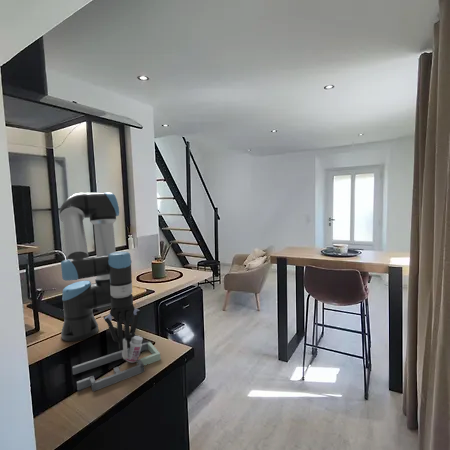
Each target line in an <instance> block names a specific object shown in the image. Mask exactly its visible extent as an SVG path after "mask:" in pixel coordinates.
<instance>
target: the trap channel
mask: <svg viewBox="0 0 450 450" xmlns="http://www.w3.org/2000/svg"><path fill="white" fill-rule="evenodd" d="M127 350H128V349H127ZM147 350H148V351H149V352H150V353H151V354H150V355H147V356H144V357H142V358H138V360H136V362H135V363H136V365H135V366H132V367H129V368H127V369H125V370H122V371H121V370H120V368H119V366H116V367H113V374H111V375H108V376H104V377H103V378H100V379H98V380H96V379H95V377H94V375H91V376H89V377H86V378H82V379H79V380H78V381H76V387H77V388H76V389H77V391H81V390H83V389H86V388H89V387H90V388H91V391H92V392H96V391H98V390H101V389H103V388H105V387H108V386H111V385H114V384H116V383H120V382H122V381H124V380H126V379H129V378H132V377H134V376H137V375H140V374H142V373H144V372H145V366H148V365H149V364H153V363H156V362H158V361H161V353H160V351H158V349H157V348H156V347H155V346H154V345H153V344H152V342H151V341H147V342H142V347H141V351H140V353H141V352H145V351H147ZM121 359H123V357H122V350H121V351H120V350H119V351H116V352H112V353H110V354H106V355H103V356H101V357H98V358H95V359H91V360H89V361H85V362H82V363H80V364H77V365H76V364H75V365H73V366H72V375H74V376H75V375H77V374H80V373H83V372H86V371H89V370H92V369H95V368H97V367H100V366H103V365H106V364H109V363H112V362H115V361H118V360H121ZM147 364H148V365H147ZM144 365H145V366H144Z"/></svg>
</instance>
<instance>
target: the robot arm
mask: <svg viewBox="0 0 450 450" xmlns="http://www.w3.org/2000/svg"><path fill="white" fill-rule="evenodd" d="M58 214H59V219H60V221H61V222H62V224H63V235H64V247H65V256H66V259H64V260H62V261H60V266H61V267H60V268H61V278H62V280H63V281H67V282H68V281H76V282H73V283H71V284H69V285H66V286H65V287H64V288H63V289H62V298H61V300H62V304H63V306H62V308H63V316H64V321H63V326H62V329H61V333H60V334H61V335H60V336H61V339H62V341H66V342H78V341H82V340H83V341H84V340H86V339H88V338H91V337H93V336H95V334H97V333H98V331H99V325H98V322H97V319H96V317H95V316H94V309H100V308H104V307H109V306H110V311H109V314H108V315H106V316H104V317H103V320H104V322H105V323H106V324H107V327H108V329H109V331H110V335H111V337H112V340H113V342H114V343H118V349H119V351H121V350H122V357H123V358H122V359H123V360H125V359H127V358H128V355H127V349H128V348H130V342H131V339H132V337H134V336H136V335H135V334H136V331H137V324H138V320H139V317H140V315H141V313H142V312H141V310H140V309H138V308H135V306H134V298H133V297H134V296H133V294H132V293H133V277H132V275H133V274H132V259H131V258H132V256H131V253H130V252H128V251H116V241H115V228H114V223H115V222H116V221H117V217H118V216H120V207H119V202H118V199H117V197H116V195H115V194H114V193H113V192H104V191H103V192H78V193H74V194H72V195H71V196H69V197H68V198H66V199H65V200H64V202H63V203H62V204H61V206H60V209H59V213H58ZM86 218H87V219H88V218H89V222H90V223H91V224H92V225H93V228H94V229H93V232H94V239H95V240H94V241H95V250H96V256H90V257H89V251H88V245H87V239H86V233H85V227H84V222H83V221H84V219H86ZM94 277H95V278H94ZM88 278H94V280H95V282H93V283H92V282H91V281H89V280H81V279H88ZM77 280H80V281H77ZM132 314H133V315H132ZM131 316H132V319H131V324H130V318H131ZM112 318H114V320H115V321H116V328H117V332H116V330H115V328H114V325H113V323H112V320H113V319H112ZM123 325H124V326H123ZM123 328H124V330H123ZM123 331H124V332H123ZM116 333H117V334H116ZM123 333H124V334H123Z"/></svg>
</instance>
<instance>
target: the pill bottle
mask: <svg viewBox="0 0 450 450" xmlns="http://www.w3.org/2000/svg"><path fill="white" fill-rule="evenodd" d="M143 340H144V338H143V337H142V336H139V335H135V336H134V337H132V338H130V348H128V350H127V355H128V358H127V359H124V360H125V361H126V362H128V363H132V364H133V363H137V362H136V360H138V359H140V358H139V357H140V354H141V352H140V351H141V347H142V344H143Z"/></svg>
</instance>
